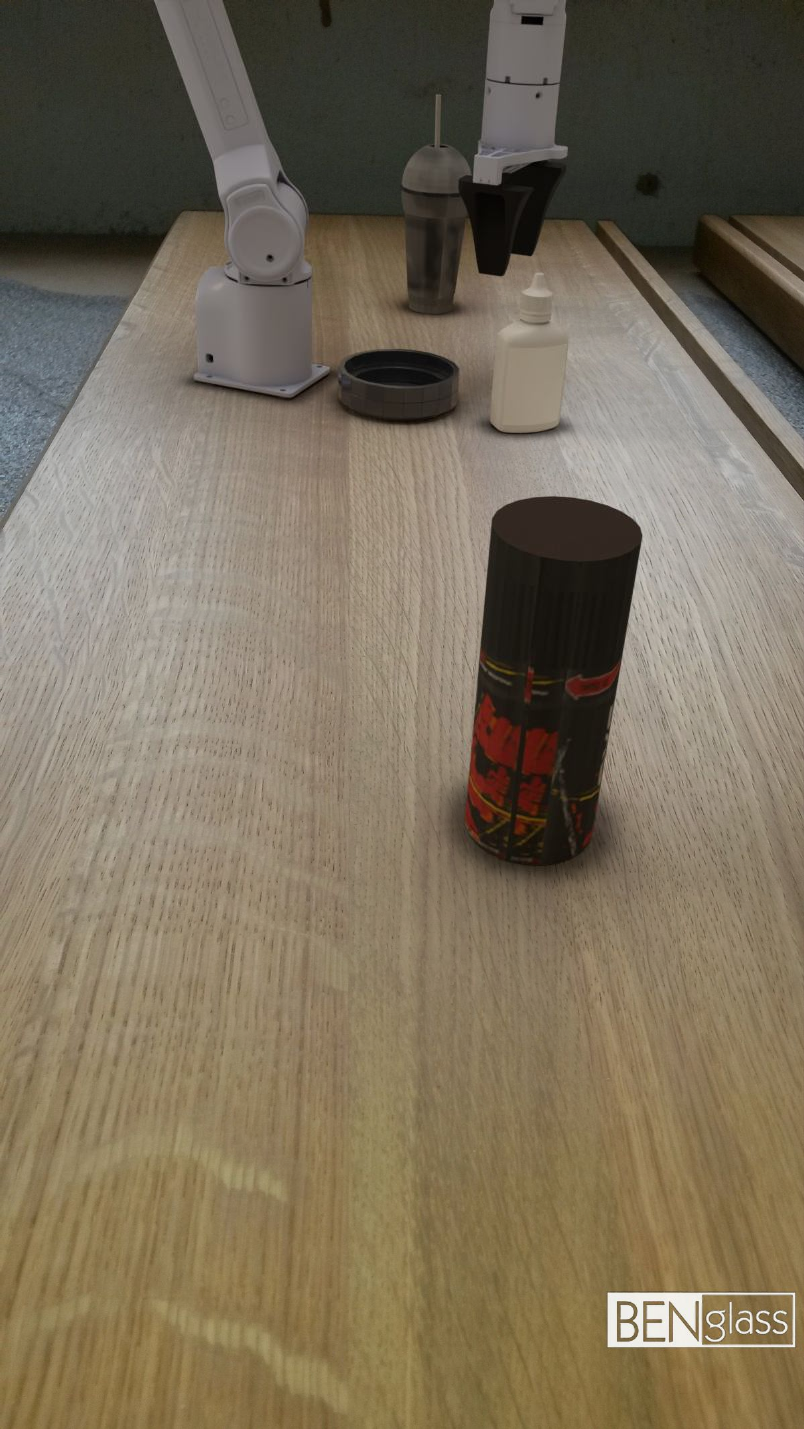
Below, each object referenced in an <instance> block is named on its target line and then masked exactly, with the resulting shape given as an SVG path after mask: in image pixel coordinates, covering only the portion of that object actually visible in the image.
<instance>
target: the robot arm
mask: <svg viewBox="0 0 804 1429" xmlns="http://www.w3.org/2000/svg"><path fill="white" fill-rule="evenodd" d="M153 2H154V4H155V7H156V10H157V12H158V15H159V18H160V21H161V23H162V26H163V29H164V31H165V35H166V37H167V40H168V42H169V45H170V48H171V51H172V53H173V56H174V59H175V62H176V64H177V67H178V70H179V73H180V76H181V78H182V81H183V84H184V86H185V89H186V92H187V95H188V97H189V101H190V103H191V106H192V109H193V111H194V114H195V117H196V119H197V122H198V125H199V127H200V130H201V133H202V137H203V138H204V141H205V144H206V147H207V150H208V152H209V155H210V157H211V160H212V164H213V169H214V177H215V181H216V188H217V193H218V198H219V200H220V203H221V206H222V208H223V212H224V218H225V220H224V221H225V225H224V234H223V238H224V239H223V240H224V248H225V251H226V254H227V257H228V258H229V259H228V260H227V261H226V262H225V265H224V266H223V265H222V266H221V265H214V266H211V267H209V268H207V269H206V270H205V272H204V273H203V274H202V276H201V277H200V279H199V281H198V284H197V288H196V292H195V300H194V315H195V316H194V317H195V337H196V356H197V358H196V359H197V372H195V373H194V374H193V380H194V381H197V382H201V383H206V384H213V385H218V386H222V387H229V388H232V389H233V388H234V389H239V390H245V391H249V392H255V393H259V394H266V395H272V396H277V397H281V398H288V399H290V398H294V397H295V396H296V395H298V394H300V393H301V392H302V391H304V390H306V389H307V388H309V387H310V386H311V385H313V384H315V383H316V382H318V381H319V380H321V379H322V378H324V377H325V376H327V375H329V374H330V373H331V368H330V366H327V365H322V364H316V363H313V267H312V266H311V264H310V263H308V261H307V260H305V258H304V257H303V256H304V252H305V246H306V239H305V237H306V235H307V231H308V228H309V222H310V215H309V213H310V212H309V208H308V205H307V202H306V199H305V198H304V196H303V194H302V193H301V192H300V190H299V189H298V188H297V187H296V186H295V185H294V184H293V183H292V182H291V181H290V179H289V178H288V177H287V175H286V173H285V171H284V169H283V165H282V163H281V160H280V158H279V155H278V154H277V151H276V149H275V147H274V146H273V144H272V141H271V139H270V137H269V135H268V132H267V129H266V126H265V122H264V120H263V118H262V114H261V111H260V108H259V105H258V102H257V100H256V97H255V96H256V95H255V94H254V91H253V87H252V85H251V82H250V79H249V76H248V72H247V70H246V66H245V64H244V61H243V58H242V56H241V51H240V48H239V46H238V44H237V40H236V37H235V35H234V32H233V28H232V26H231V22H230V20H229V17H228V14H227V11H226V7H225V5H224V1H223V0H153ZM566 4H567V0H493V6H492V8H491V10H490V14H489V25H488V26H489V27H488V39H487V40H488V41H487V52H486V53H487V54H486V65H485V66H486V67H485V68H486V69H485V80H484V92H483V93H484V94H483V95H484V97H483V108H482V121H481V135H480V139H479V140H478V142H477V154H475V155H474V160H473V174H472V176H471V175H465V176H463V177H461V178H459V181H458V190H459V193H460V195H461V197H462V200H463V202H464V204H465V207H466V210H467V216H468V218H469V223H470V228H471V232H472V233H471V234H472V239H473V245H474V253H475V260H476V266H477V272H478V274H480V275H488V276H495V277H504V276H505V275H506V272H507V270H508V267H509V264H510V260H511V255H518V256H525V257H532V256H533V255H534V253H535V251H536V248H537V245H538V242H539V239H540V237H541V236H540V235H541V232H542V228H543V225H544V222H545V218H546V215H547V212H548V210H549V207H550V203H551V202H552V200H553V197H554V195H555V192H556V191H557V189H558V187H559V185H560V183H561V182H562V180H563V179H564V177H565V175H566V173H567V167H568V165H567V164H566V163H563V162H557V161H548V160H550V159H553V160H562V159H565V158H567V157H568V151H569V150H568V149H569V147H568V146H566V145H558V144H556V143H555V137H556V123H557V114H558V105H559V93H560V85H561V84H560V82H561V75H562V65H563V64H562V63H563V54H564V45H565V35H566V25H567V13H566Z"/></svg>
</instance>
